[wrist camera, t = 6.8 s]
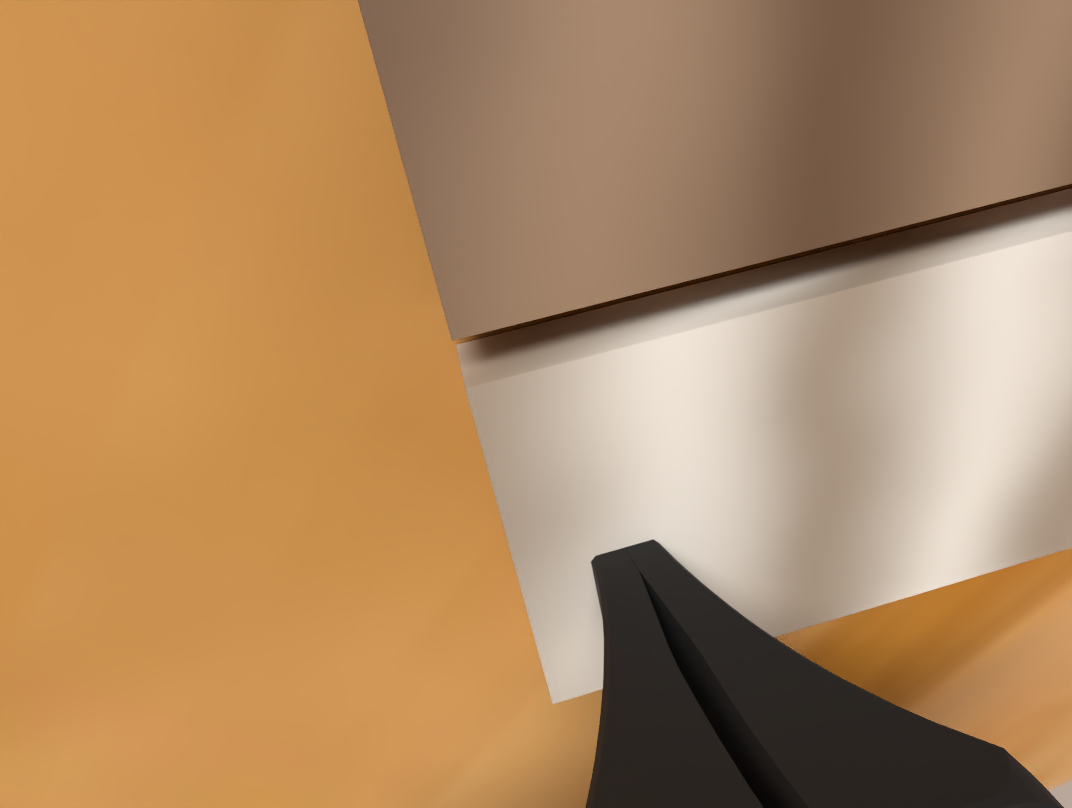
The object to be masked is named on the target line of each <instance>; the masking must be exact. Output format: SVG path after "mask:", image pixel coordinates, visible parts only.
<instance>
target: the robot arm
mask: <svg viewBox="0 0 1072 808" xmlns="http://www.w3.org/2000/svg"><path fill="white" fill-rule="evenodd" d="M591 565H592V570H593V575H594V580H595V585H596V589H597V594H598V599H599V604H600V609H601V614H602V619H603V633H604V667H603V692H602V705H601V716H600V725H599V733H598V741H597V748H596V755H595V762H594V768H593V774H592V779H591V784H590V789H589V794H588V799H587V804H586V808H1064V807H1063V806H1062V805H1061V804H1060V803H1059V802H1058V801H1057V800H1056V799H1055V798H1054V796H1052V795H1051V793H1050V792H1049V791H1048V790H1047V789H1046V788H1045V787H1044V786H1043V785H1042V784H1041V783H1040V782H1039V781H1038V780H1037V779H1036V778H1035V777H1034V776H1033V775H1032V774H1031V773H1030V772H1029V771H1028V770H1027V769H1026V768H1025V767H1023V766H1022V765H1021V764H1020V763H1019V762H1018V761H1017V760H1016V759H1015V758H1013V757H1012V756H1011V755H1010V754H1009V753H1008V752H1007V751H1006V750H1005V749H1004V748H1002V747H999V746H996V745H994V744H991V743H988V742H986V741H983V740H980V739H978V738H975V737H972V736H970V735H967V734H964V733H962V732H959V731H956V730H954V729H951V728H948V727H946V726H943V725H940V724H938V723H935V722H933V721H930V720H928V719H926V718H923V717H921V716H919V715H916V714H914V713H912V712H910V711H907V710H905V709H903V708H900V707H898V706H896V705H894V704H892V703H890V702H888V701H886V700H884V699H882V698H880V697H878V696H876V695H874V694H872V693H870V692H868V691H866V690H864V689H862V688H860V687H858V686H856V685H854V684H852V683H850V682H848V681H846V680H844V679H842V678H840V677H838V676H836V675H835V674H833V673H831V672H829V671H828V670H826V669H824V668H822V667H821V666H819V665H817V664H815V663H814V662H812V661H810V660H809V659H807V658H805V657H804V656H802V655H800V654H799V653H797V652H796V651H794V650H792V649H791V648H789V647H788V646H786V645H785V644H783V643H781V642H780V641H778V640H777V639H775V638H774V637H772V636H771V635H770V634H768V633H767V632H765V631H764V630H762V629H761V628H760V627H758V626H757V625H755V624H754V623H753V622H751V621H750V620H748V619H747V618H746V617H744V616H743V615H742V614H740V613H739V612H738V611H736V610H735V609H734V608H732V607H731V606H730V605H729V604H727V603H726V602H725V601H724V600H722V599H721V598H720V597H719V596H717V595H716V594H715V593H714V592H712V591H711V590H710V589H709V588H708V587H706V586H705V585H704V584H703V583H702V582H701V581H699V580H698V579H697V578H696V577H695V576H694V575H693V574H691V573H690V572H689V571H688V570H687V569H686V568H685V567H684V566H682V565H681V564H680V563H679V562H678V561H677V560H676V559H675V558H674V557H673V556H672V555H671V554H670V553H669V552H668V551H667V550H666V549H665V548H664V547H663V546H662V545H661V544H660V543H659V542H657V541H655V540H649V541H646V542H642V543H639V544H635V545H632V546H628V547H625V548H621V549H618V550H614V551H611V552H607V553H604V554H600V555H597V556H595V557H594V558H593V560H592V561H591Z"/></svg>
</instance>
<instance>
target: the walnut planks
mask: <svg viewBox="0 0 1072 808" xmlns="http://www.w3.org/2000/svg"><path fill="white" fill-rule="evenodd" d="M358 3H359V6H360V10H361V13H362V17H363V21H364V24H365V28H366V31H367V35H368V39H369V42H370V46H371V49H372V53H373V57H374V60H375V64H376V68H377V71H378V75H379V78H380V82H381V86H382V89H383V93H384V96H385V100H386V104H387V107H388V111H389V115H390V118H391V122H392V125H393V129H394V133H395V136H396V140H397V143H398V147H399V151H400V154H401V158H402V162H403V165H404V169H405V172H406V176H407V180H408V183H409V187H410V190H411V194H412V198H413V201H414V205H415V209H416V212H417V216H418V219H419V223H420V227H421V230H422V234H423V237H424V241H425V245H426V248H427V252H428V256H429V259H430V263H431V266H432V270H433V274H434V277H435V281H436V284H437V288H438V292H439V295H440V299H441V303H442V306H443V310H444V313H445V317H446V321H447V324H448V328H449V331H450V335H451V339H452V341H453V340H457V339H461V338H465V337H469V336H473V335H477V334H481V333H485V332H488V331H492V330H496V329H500V328H504V327H508V326H512V325H516V324H520V323H524V322H528V321H532V320H536V319H540V318H544V317H548V316H552V315H556V314H559V313H563V312H567V311H571V310H575V309H579V308H583V307H587V306H591V305H595V304H599V303H603V302H607V301H611V300H615V299H619V298H623V297H626V296H630V295H634V294H638V293H642V292H646V291H650V290H654V289H658V288H662V287H666V286H670V285H674V284H678V283H682V282H686V281H690V280H693V279H697V278H701V277H705V276H709V275H713V274H717V273H721V272H725V271H729V270H733V269H737V268H741V267H745V266H749V265H753V264H757V263H760V262H764V261H768V260H772V259H776V258H780V257H784V256H788V255H792V254H796V253H800V252H804V251H808V250H812V249H816V248H820V247H824V246H828V245H831V244H835V243H839V242H843V241H847V240H851V239H855V238H859V237H863V236H867V235H871V234H875V233H879V232H883V231H887V230H891V229H895V228H898V227H902V226H906V225H910V224H914V223H918V222H922V221H926V220H930V219H934V218H938V217H942V216H946V215H950V214H954V213H958V212H962V211H965V210H969V209H973V208H977V207H981V206H985V205H989V204H993V203H997V202H1001V201H1005V200H1009V199H1013V198H1017V197H1021V196H1025V195H1029V194H1033V193H1036V192H1040V191H1044V190H1048V189H1052V188H1056V187H1060V186H1064V185H1068V184H1072V0H358Z"/></svg>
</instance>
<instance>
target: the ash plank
mask: <svg viewBox="0 0 1072 808" xmlns="http://www.w3.org/2000/svg"><path fill="white" fill-rule="evenodd" d="M456 347H457V352H458V357H459V361H460V366H461V371H462V375H463V380H464V385H465V389H466V393H467V396H468V400H469V404H470V407H471V411H472V414H473V418H474V422H475V425H476V429H477V433H478V436H479V440H480V443H481V447H482V451H483V454H484V458H485V461H486V465H487V469H488V472H489V476H490V479H491V483H492V487H493V490H494V494H495V498H496V501H497V505H498V508H499V512H500V516H501V519H502V523H503V526H504V530H505V534H506V537H507V541H508V544H509V548H510V552H511V555H512V559H513V562H514V566H515V570H516V573H517V577H518V581H519V584H520V588H521V591H522V595H523V599H524V602H525V606H526V609H527V613H528V617H529V620H530V624H531V627H532V631H533V635H534V638H535V642H536V646H537V649H538V653H539V656H540V660H541V664H542V667H543V671H544V674H545V678H546V682H547V685H548V689H549V692H550V696H551V700H552V703H553V704H555V703H558V702H561V701H565V700H568V699H571V698H575V697H578V696H581V695H585V694H588V693H591V692H595V691H598V690H601V689H603V667H604V633H603V619H602V614H601V609H600V604H599V599H598V594H597V589H596V585H595V580H594V575H593V570H592V565H591V561H592V560H593V558H594V557H595V556H597V555H600V554H604V553H607V552H611V551H614V550H618V549H621V548H625V547H628V546H632V545H635V544H639V543H642V542H646V541H649V540H655V541H657V542H659V543H660V544H661V545H662V546H663V547H664V548H665V549H666V550H667V551H668V552H669V553H670V554H671V555H672V556H673V557H674V558H675V559H676V560H677V561H678V562H679V563H680V564H681V565H682V566H684V567H685V568H686V569H687V570H688V571H689V572H690V573H691V574H693V575H694V576H695V577H696V578H697V579H698V580H699V581H701V582H702V583H703V584H704V585H705V586H706V587H708V588H709V589H710V590H711V591H712V592H714V593H715V594H716V595H717V596H719V597H720V598H721V599H722V600H724V601H725V602H726V603H727V604H729V605H730V606H731V607H732V608H734V609H735V610H736V611H738V612H739V613H740V614H742V615H743V616H744V617H746V618H747V619H748V620H750V621H751V622H753V623H754V624H755V625H757V626H758V627H760V628H761V629H762V630H764V631H765V632H767V633H768V634H770V635H771V636H772V637H777V636H780V635H784V634H787V633H790V632H794V631H797V630H800V629H804V628H807V627H810V626H814V625H817V624H820V623H824V622H827V621H830V620H834V619H837V618H840V617H844V616H847V615H850V614H853V613H857V612H860V611H863V610H867V609H870V608H873V607H877V606H880V605H883V604H887V603H890V602H893V601H897V600H900V599H903V598H907V597H910V596H913V595H917V594H920V593H923V592H927V591H930V590H933V589H936V588H940V587H943V586H946V585H950V584H953V583H956V582H960V581H963V580H966V579H970V578H973V577H976V576H980V575H983V574H986V573H990V572H993V571H996V570H1000V569H1003V568H1006V567H1010V566H1013V565H1016V564H1019V563H1023V562H1026V561H1029V560H1033V559H1036V558H1039V557H1043V556H1046V555H1049V554H1053V553H1056V552H1059V551H1063V550H1066V549H1069V548H1072V188H1071V189H1067V190H1063V191H1059V192H1055V193H1051V194H1047V195H1043V196H1039V197H1035V198H1031V199H1028V200H1024V201H1020V202H1016V203H1012V204H1008V205H1004V206H1000V207H996V208H992V209H988V210H984V211H980V212H976V213H972V214H969V215H965V216H961V217H957V218H953V219H949V220H945V221H941V222H937V223H933V224H929V225H925V226H921V227H917V228H913V229H910V230H906V231H902V232H898V233H894V234H890V235H886V236H882V237H878V238H874V239H870V240H866V241H862V242H858V243H855V244H851V245H847V246H843V247H839V248H835V249H831V250H827V251H823V252H819V253H815V254H811V255H807V256H803V257H799V258H796V259H792V260H788V261H784V262H780V263H776V264H772V265H768V266H764V267H760V268H756V269H752V270H748V271H744V272H740V273H737V274H733V275H729V276H725V277H721V278H717V279H713V280H709V281H705V282H701V283H697V284H693V285H689V286H685V287H681V288H678V289H674V290H670V291H666V292H662V293H658V294H654V295H650V296H646V297H642V298H638V299H634V300H630V301H626V302H622V303H619V304H615V305H611V306H607V307H603V308H599V309H595V310H591V311H587V312H583V313H579V314H575V315H571V316H567V317H563V318H560V319H556V320H552V321H548V322H544V323H540V324H536V325H532V326H528V327H524V328H520V329H516V330H512V331H508V332H504V333H501V334H497V335H493V336H489V337H485V338H481V339H477V340H473V341H469V342H465V343H461V344H457V345H456Z"/></svg>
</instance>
